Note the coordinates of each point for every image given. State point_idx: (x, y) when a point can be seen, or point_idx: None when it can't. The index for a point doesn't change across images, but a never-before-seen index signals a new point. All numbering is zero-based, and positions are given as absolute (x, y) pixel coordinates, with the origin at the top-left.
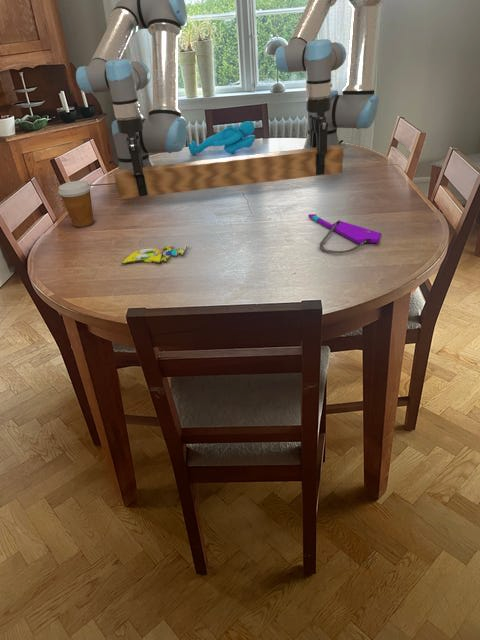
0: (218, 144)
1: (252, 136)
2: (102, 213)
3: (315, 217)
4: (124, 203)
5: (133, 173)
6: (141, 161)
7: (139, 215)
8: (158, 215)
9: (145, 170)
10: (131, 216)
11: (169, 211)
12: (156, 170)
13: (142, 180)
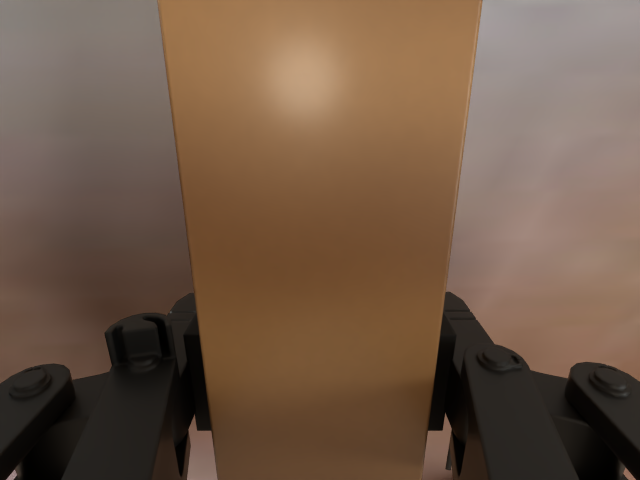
0: None
1: None
2: None
3: None
4: None
5: (419, 472)
6: (154, 469)
7: (502, 268)
8: (572, 147)
9: (427, 336)
10: (494, 312)
11: (532, 62)
12: (461, 137)
13: (475, 326)
